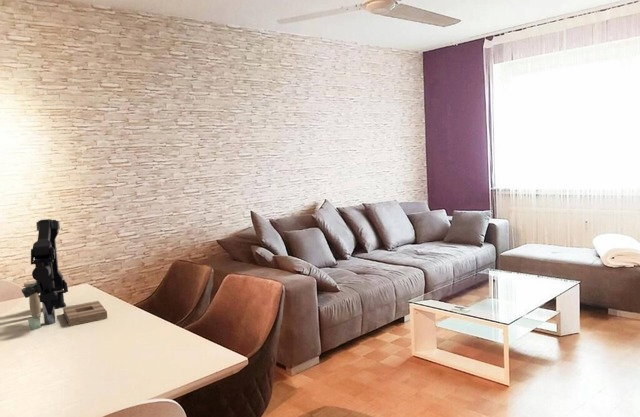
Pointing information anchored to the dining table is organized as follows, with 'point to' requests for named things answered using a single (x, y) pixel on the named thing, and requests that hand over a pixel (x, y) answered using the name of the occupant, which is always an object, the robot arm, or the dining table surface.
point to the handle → (34, 302)
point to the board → (84, 313)
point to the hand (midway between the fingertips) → (49, 313)
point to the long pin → (48, 316)
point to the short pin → (34, 323)
